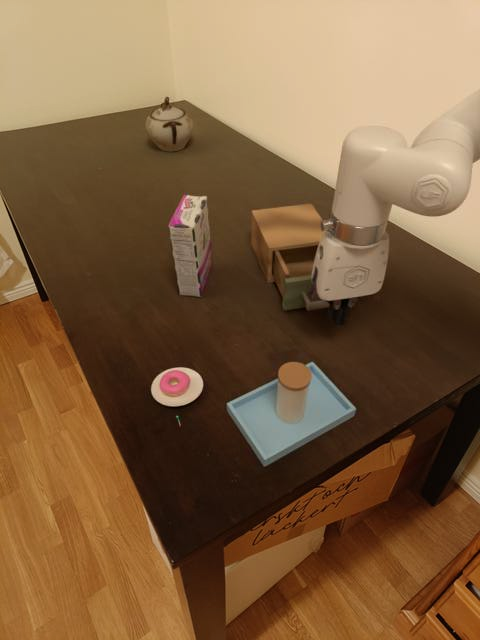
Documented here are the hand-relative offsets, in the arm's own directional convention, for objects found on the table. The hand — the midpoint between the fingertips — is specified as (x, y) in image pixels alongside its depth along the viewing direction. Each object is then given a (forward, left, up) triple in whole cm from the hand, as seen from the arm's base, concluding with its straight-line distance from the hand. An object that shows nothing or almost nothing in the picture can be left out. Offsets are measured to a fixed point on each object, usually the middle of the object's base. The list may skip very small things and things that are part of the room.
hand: (336, 320), depth 71 cm
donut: (+27, +5, -6) cm, 29 cm away
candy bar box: (+21, -23, -6) cm, 32 cm away
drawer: (0, -14, -5) cm, 15 cm away
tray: (+11, +12, -6) cm, 18 cm away
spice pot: (+11, +12, -6) cm, 18 cm away
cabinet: (0, -26, -6) cm, 27 cm away
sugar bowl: (+19, -93, -6) cm, 95 cm away
